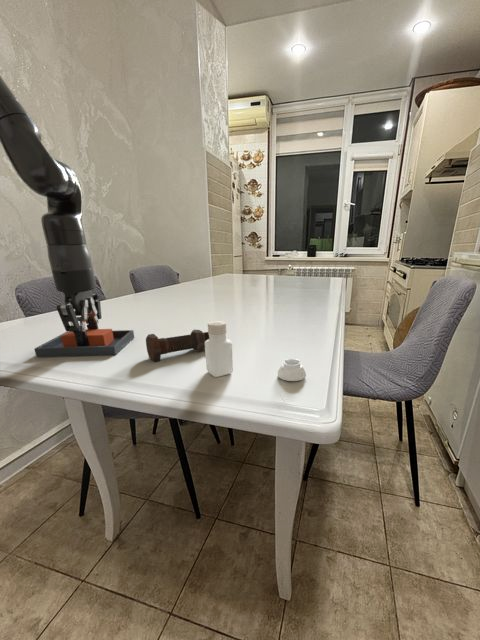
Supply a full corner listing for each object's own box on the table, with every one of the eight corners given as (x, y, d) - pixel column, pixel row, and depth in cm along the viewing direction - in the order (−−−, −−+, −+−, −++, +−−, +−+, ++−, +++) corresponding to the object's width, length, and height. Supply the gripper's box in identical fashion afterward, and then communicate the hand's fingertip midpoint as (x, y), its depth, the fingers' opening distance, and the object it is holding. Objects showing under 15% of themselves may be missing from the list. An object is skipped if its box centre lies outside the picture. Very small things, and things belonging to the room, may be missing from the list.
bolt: (218, 353, 68) (152, 366, 60) (209, 338, 70) (145, 349, 62) (223, 336, 64) (153, 347, 56) (214, 321, 66) (146, 329, 58)
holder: (36, 357, 61) (34, 348, 61) (68, 339, 73) (66, 331, 72) (115, 355, 62) (114, 346, 62) (134, 337, 74) (133, 330, 73)
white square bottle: (234, 373, 53) (232, 324, 50) (214, 379, 51) (210, 327, 48) (224, 366, 57) (222, 319, 53) (205, 371, 55) (201, 322, 51)
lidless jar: (273, 380, 51) (301, 385, 49) (273, 364, 50) (302, 369, 48) (282, 369, 55) (308, 373, 53) (283, 355, 54) (309, 358, 52)
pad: (63, 348, 65) (60, 336, 64) (75, 341, 69) (72, 329, 68) (105, 347, 65) (103, 335, 64) (114, 340, 70) (112, 328, 69)
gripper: (72, 265, 68) (87, 334, 74) (31, 270, 54) (54, 355, 60) (105, 264, 68) (118, 333, 74) (73, 270, 55) (92, 353, 61)
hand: (89, 342), depth 67 cm, fingers closed on pad, 5 cm apart
